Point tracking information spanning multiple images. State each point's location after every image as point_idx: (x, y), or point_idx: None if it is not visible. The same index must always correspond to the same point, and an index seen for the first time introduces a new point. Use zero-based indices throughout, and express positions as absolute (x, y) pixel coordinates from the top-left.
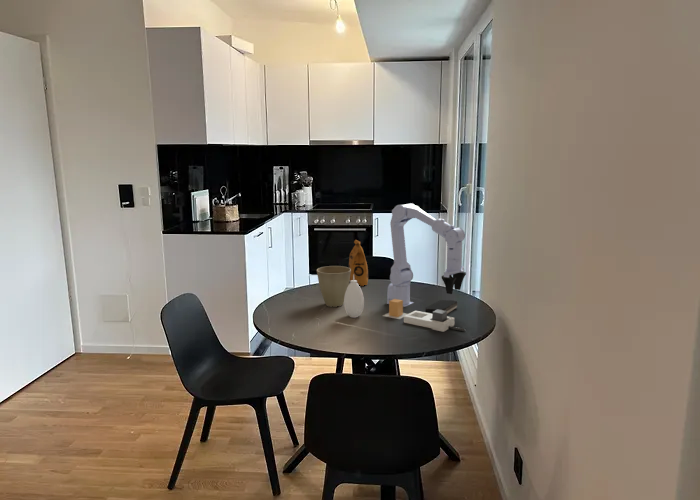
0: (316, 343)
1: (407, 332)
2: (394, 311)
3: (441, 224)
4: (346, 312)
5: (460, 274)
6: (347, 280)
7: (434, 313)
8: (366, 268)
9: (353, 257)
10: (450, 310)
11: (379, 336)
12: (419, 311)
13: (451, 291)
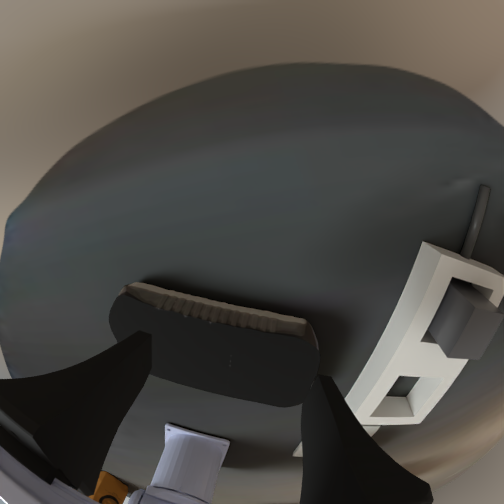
0: (494, 440)
1: (484, 364)
2: None
3: None
4: None
5: (63, 449)
6: None
7: (482, 347)
8: (93, 498)
9: None
10: (219, 304)
11: (493, 397)
12: (359, 411)
13: (339, 393)
